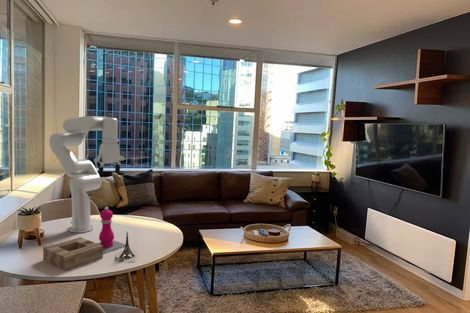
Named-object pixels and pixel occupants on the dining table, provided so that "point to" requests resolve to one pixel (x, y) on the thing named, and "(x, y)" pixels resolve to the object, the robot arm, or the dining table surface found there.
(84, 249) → the walnut pocket holder
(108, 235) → the pepper mill
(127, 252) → the eiffel tower figurine
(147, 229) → the dining table surface
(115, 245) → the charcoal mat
